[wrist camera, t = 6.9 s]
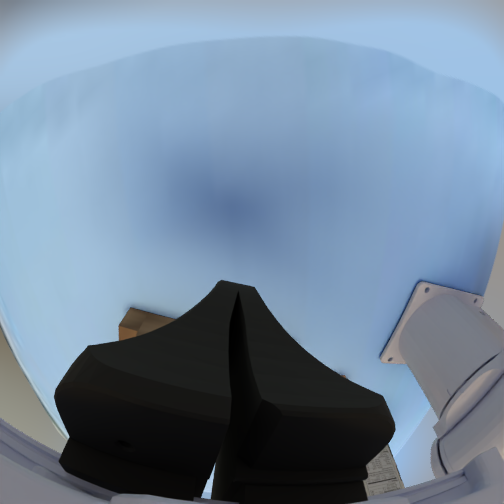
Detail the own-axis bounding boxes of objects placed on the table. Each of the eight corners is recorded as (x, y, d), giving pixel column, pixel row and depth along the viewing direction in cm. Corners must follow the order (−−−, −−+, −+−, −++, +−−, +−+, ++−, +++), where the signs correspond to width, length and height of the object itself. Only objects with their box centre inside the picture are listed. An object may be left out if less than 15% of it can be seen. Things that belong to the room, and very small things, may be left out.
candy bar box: (342, 459, 29) (363, 558, 14) (307, 462, 29) (322, 567, 13) (380, 412, 25) (423, 534, 10) (340, 414, 25) (374, 552, 10)
